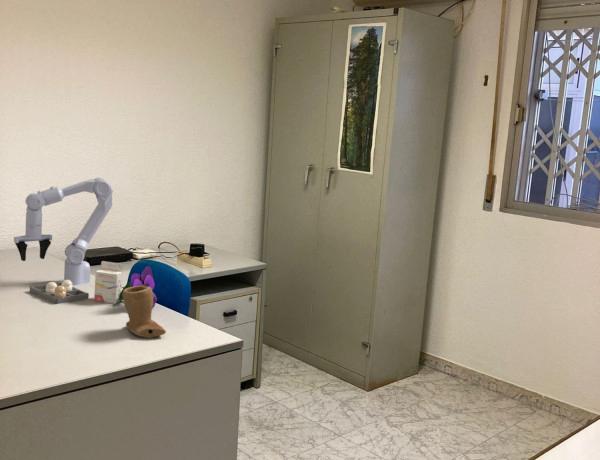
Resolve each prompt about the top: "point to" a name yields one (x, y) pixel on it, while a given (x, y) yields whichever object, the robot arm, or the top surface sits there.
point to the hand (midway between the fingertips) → (32, 259)
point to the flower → (141, 282)
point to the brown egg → (60, 291)
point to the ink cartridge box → (108, 283)
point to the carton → (70, 297)
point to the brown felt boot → (141, 312)
